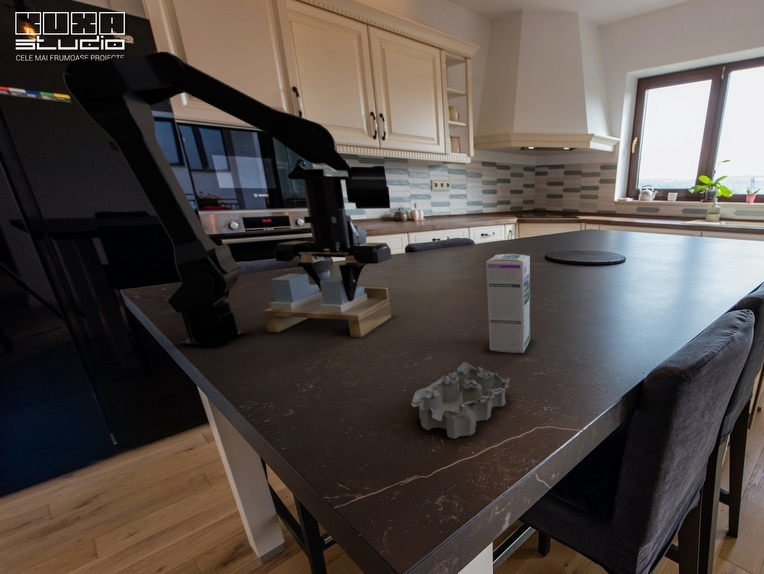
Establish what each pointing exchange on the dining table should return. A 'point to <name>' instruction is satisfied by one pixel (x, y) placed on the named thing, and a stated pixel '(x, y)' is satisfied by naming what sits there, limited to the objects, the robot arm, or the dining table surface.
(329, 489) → the dining table surface
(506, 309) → the syrup box
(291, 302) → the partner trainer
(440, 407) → the egg carton
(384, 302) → the shoe shelf
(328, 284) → the trainer
